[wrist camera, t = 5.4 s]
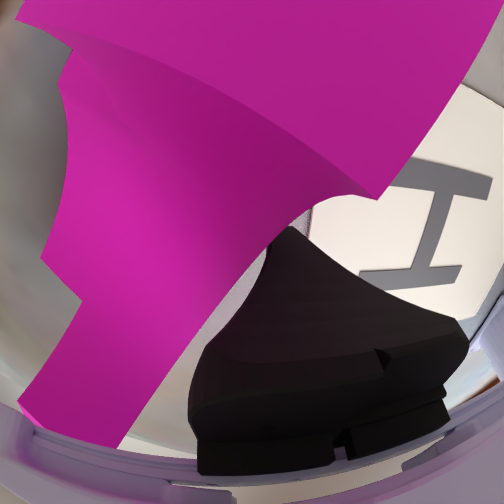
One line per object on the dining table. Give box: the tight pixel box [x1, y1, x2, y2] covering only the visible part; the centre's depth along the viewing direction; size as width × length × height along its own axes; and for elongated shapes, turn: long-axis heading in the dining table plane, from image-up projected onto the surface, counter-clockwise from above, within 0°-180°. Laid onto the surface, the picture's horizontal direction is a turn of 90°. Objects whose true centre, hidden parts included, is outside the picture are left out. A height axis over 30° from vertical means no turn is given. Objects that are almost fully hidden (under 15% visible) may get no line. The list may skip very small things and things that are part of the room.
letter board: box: [308, 84, 504, 321], centre depth 12 cm, size 17×16×1 cm
